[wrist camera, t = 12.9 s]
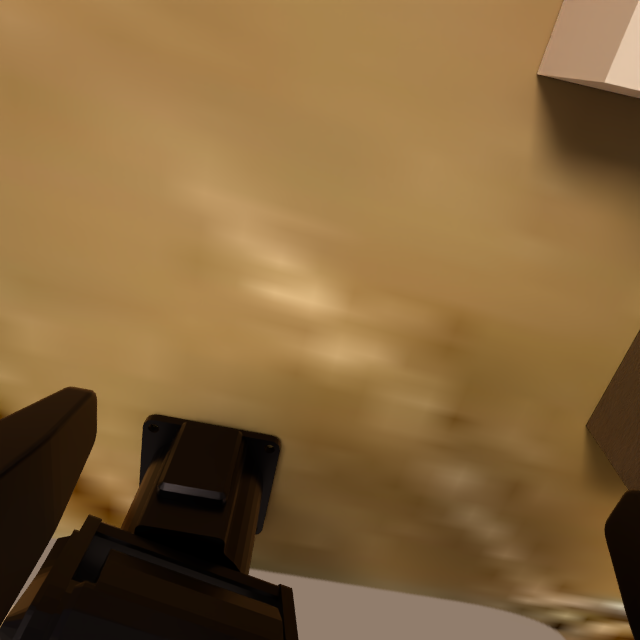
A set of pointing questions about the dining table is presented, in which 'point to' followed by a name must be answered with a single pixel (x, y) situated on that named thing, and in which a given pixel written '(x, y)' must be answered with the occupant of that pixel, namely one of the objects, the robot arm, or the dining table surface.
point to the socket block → (621, 419)
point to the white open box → (596, 45)
